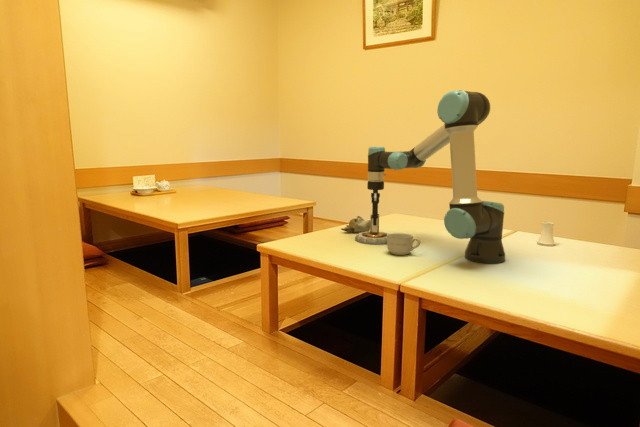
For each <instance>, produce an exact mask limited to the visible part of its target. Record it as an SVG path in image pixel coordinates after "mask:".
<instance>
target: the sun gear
mask: <svg viewBox="0 0 640 427" xmlns="http://www.w3.org/2000/svg"><path fill="white" fill-rule="evenodd" d="M371 217H372V214H370V218H369V220H370V231H369V232H368V233H365V237H369V238H383V237H384V233H385V232H384V233H380V232H381V231H379V230H380V214H379V215H378V232H372V218H371Z"/></svg>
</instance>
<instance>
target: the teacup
mask: <svg viewBox="0 0 640 427" xmlns="http://www.w3.org/2000/svg"><path fill="white" fill-rule="evenodd" d="M414 241H417V244H416V245H415V246H414V245H413V244H414ZM386 246H387V250H388V251H389V252H390V253H391V254H392V255H397V256H405V255H406V256H407V255H408V254H409V253H410V252H413V251H414V250H415V249H417V248H418V247H419V246H421V240H420V239H419V237H414V235H413V234H409V233H403V232H402V233H401V232H400V233H399V232H397V233H396V232H395V233H394V232H393V233H388V234H387V244H386Z"/></svg>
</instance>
